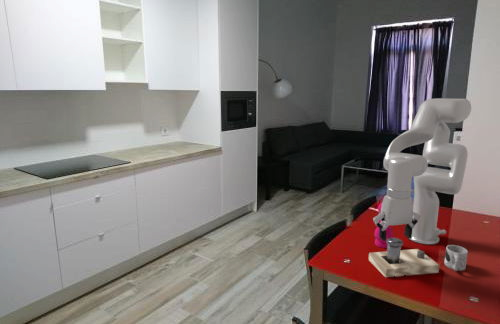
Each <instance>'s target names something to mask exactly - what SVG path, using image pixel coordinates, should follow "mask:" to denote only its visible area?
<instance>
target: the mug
mask: <svg viewBox="0 0 500 324" xmlns="http://www.w3.org/2000/svg"><path fill="white" fill-rule="evenodd" d="M468 254H469V251H468V249H466V248H465V247H463V246H460V245H455V244H448V245H447V246H446V248H445V253H444V262H443V263H444V266H445V267H447V268H449V269H450V270H453V271H454V272H458V271H460V272H462V271H465V270H466V267H467V260H468Z"/></svg>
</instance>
